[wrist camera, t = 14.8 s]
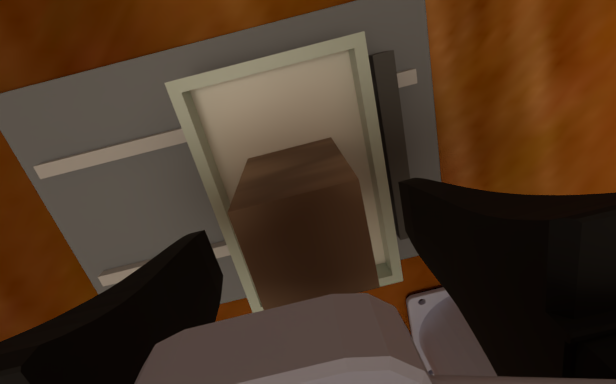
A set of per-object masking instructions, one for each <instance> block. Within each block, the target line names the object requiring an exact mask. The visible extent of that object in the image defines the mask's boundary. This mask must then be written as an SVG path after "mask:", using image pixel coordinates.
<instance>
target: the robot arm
mask: <svg viewBox="0 0 616 384" xmlns="http://www.w3.org/2000/svg"><path fill="white" fill-rule="evenodd" d="M398 184H399V191H400V198H401V205H402V212H403V219H404V226H405V231H406V233H407V235H408V237H409V239H410V241H411V243H412V245H413V246H414V248H415V250H416V252H417V253H418V254H419V256H420V257H421V258H422V260H423V261H424V262H425V264H426V265H427V266H428V268H429V269H430V270H431V272H432V273H433V274H434V276H435V277H436V278H437V279H438V281H439V282H440V283H441V285H442V286H443V287H442V288H438V289H434V290H430V291H426V292H421V293H417V294H413V295H410V296H409V297H408V298H407V299H406V304H407V310H408V317H409V323H410V330H411V335H410V333H409V331H408V329H407V327H406V325H405V323H404V322H403V320H402V318H401V316H400V314H399V313H398V311H397V309H396V307H395V306H393V305H391V304H388V303H386V302H384V301H382V300H380V299H378V298H376V297H374V296H372V295H370V294H368V293H351V294H329V295H325V296H321V297H317V298H313V299H309V300H304V301H300V302H296V303H292V304H288V305H284V306H280V307H276V308H271V309H267V310H263V311H259V312H255V313H251V314H247V315H242V316H238V317H234V318H230V319H226V320H222V321H218V322H215V320H216V316H217V312H218V308H219V305H220V300H221V294H222V285H223V274H222V271H221V269H220V266H219V264H218V261H217V259H216V256H215V254H214V251H213V249H212V246H211V244H210V241H209V239H208V237H207V234H206V232H205V230H202V231H198V232H194V233H190V234H187V235H185V236H183V237H182V238H180V239H179V240H177V241H176V242H174V243H173V244H171V245H170V246H169V247H167V248H166V249H165V250H163V251H162V252H161V253H159V254H158V255H157V256H155V257H154V258H153V259H151V260H150V261H149V262H147V263H146V264H144V265H143V266H142V267H140V268H139V269H137V270H136V271H134V272H133V273H132V274H130V275H129V276H127V277H126V278H124V279H123V280H121V281H120V282H118V283H117V284H115V285H114V286H112V287H111V288H109V289H107V290H106V291H104V292H102V293H100V294H99V295H97V296H95V297H94V298H92V299H90V300H88V301H87V302H85V303H83V304H81V305H79V306H77V307H75V308H73V309H71V310H69V311H67V312H65V313H63V314H61V315H60V316H58V317H56V318H54V319H52V320H49V321H47V322H45V323H43V324H41V325H39V326H36V327H34V328H32V329H30V330H27V331H25V332H23V333H20V334H18V335H16V336H14V337H11V338H9V339H6V340H4V341H1V342H0V384H616V193H605V194H587V195H521V194H509V193H498V192H490V191H483V190H477V189H471V188H466V187H461V186H456V185H452V184H447V183H443V182H438V181H434V180H429V179H424V178H411V179H407V180H403V181H399V182H398ZM420 299H423V300H421V301H419V300H420ZM411 336H412V337H411Z"/></svg>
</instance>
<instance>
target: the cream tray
mask: <svg viewBox="0 0 616 384" xmlns="http://www.w3.org/2000/svg"><path fill="white" fill-rule="evenodd" d="M164 84H165V86H166V89H167V91H168V94H169V97H170V99H171V102H172V104H173V107H174V110H175V112H176V115H177V117H178V120H179V123H180V125H181V128H182V130H183V133H184V135H185V138H186V141H187V143H188V146H189V148H190V151H191V154H192V156H193V159H194V161H195V164H196V167H197V169H198V172H199V174H200V177H201V180H202V182H203V185H204V187H205V190H206V193H207V195H208V198H209V200H210V203H211V205H212V208H213V211H214V213H215V216H216V218H217V221H218V224H219V226H220V229H221V231H222V234H223V237H224V239H225V242H226V244H227V247H228V250H229V252H230V255H231V257H232V260H233V263H234V265H235V268H236V270H237V273H238V275H239V278H240V281H241V283H242V286H243V288H244V291H245V294H246V296H247V299H248V301H249V304H250V307H251V309H252V312H253V313H255V312H259V311H263V310H264V309H263V307H262V304H261V301H260V299H259V296H258V293H257V290H256V288H255V285H254V282H253V280H252V277H251V274H250V272H249V269H248V266H247V264H246V261H245V258H244V256H243V253H242V250H241V248H240V245H239V242H238V240H237V237H236V234H235V232H234V229H233V226H232V224H231V221H230V218H229V216H228V213H227V212H228V210H229V207H230V204H231V202H232V199H233V196H234V194H235V191H236V188H237V186H238V183H239V181H240V178H241V175H242V173H243V170H244V167H245V165H246V162H247V159H248V158H252V157H256V156H260V155H264V154H268V153H272V152H275V151H279V150H283V149H287V148H291V147H295V146H299V145H303V144H307V143H310V142H314V141H318V140H322V139H326V138H330V137H331V138H332V140H333V141H334V143H335V144H336V146H337V147H338V149H339V150H340V152H341V153H342V155H343V156H344V158H345V159H346V161H347V162H348V164H349V165H350V167H351V168H352V170H353V171H354V173H355V174H356V176H357V177H358V179H359V183H360V188H361V193H362V198H363V203H364V208H365V213H366V218H367V223H368V228H369V234H370V239H371V244H372V249H373V254H374V259H375V264H376V269H377V274H378V279H379V285H380V287H381V286H385V285H389V284H393V283H397V282H401V281H403V275H402V269H401V262H400V256H399V250H398V243H397V237H396V230H395V224H394V217H393V211H392V205H391V198H390V192H389V185H388V179H387V173H386V166H385V160H384V153H383V147H382V140H381V134H380V128H379V121H378V115H377V108H376V102H375V96H374V89H373V83H372V76H371V70H370V63H369V57H368V51H367V44H366V38H365V31H363V32H359V33H355V34H351V35H347V36H343V37H340V38H336V39H332V40H328V41H324V42H320V43H316V44H313V45H309V46H305V47H301V48H297V49H293V50H289V51H285V52H282V53H278V54H274V55H270V56H266V57H262V58H258V59H255V60H251V61H247V62H243V63H239V64H235V65H231V66H228V67H224V68H220V69H216V70H212V71H208V72H204V73H201V74H197V75H193V76H189V77H185V78H181V79H177V80H174V81H170V82H166V83H164Z"/></svg>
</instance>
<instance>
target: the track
mask: <svg viewBox="0 0 616 384" xmlns="http://www.w3.org/2000/svg"><path fill="white" fill-rule="evenodd" d="M363 31H365V38H366V44H367V51H368V57H369V63H370V70H371V76H372V83H373V89H374V96H375V102H376V108H377V115H378V121H379V128H380V134H381V140H382V147H383V153H384V160H385V166H386V173H387V179H388V185H389V192H390V198H391V205H392V211H393V217H394V224H395V230H396V237H397V243H398V250H399V256H400V260H402V259H406V258H410V257H414V256H418V255H419V254H418V253H417V252H416V250H415V248H414V246H413V245H412V243H411V241H410V239H409V237H408V235H407V233H406V231H405V226H404V219H403V212H402V205H401V198H400V191H399V184H398V182H399V181H403V180H407V179H411V178H424V179H429V180H434V181H438V182H441V174H440V163H439V152H438V141H437V130H436V119H435V107H434V96H433V85H432V74H431V63H430V52H429V41H428V30H427V19H426V7H425V0H357V1H353V2H349V3H345V4H342V5H338V6H334V7H330V8H326V9H322V10H319V11H315V12H311V13H307V14H303V15H299V16H296V17H292V18H288V19H284V20H280V21H276V22H273V23H269V24H265V25H261V26H257V27H253V28H250V29H246V30H242V31H238V32H234V33H230V34H227V35H223V36H219V37H215V38H211V39H207V40H204V41H200V42H196V43H192V44H188V45H184V46H181V47H177V48H173V49H169V50H165V51H161V52H158V53H154V54H150V55H146V56H142V57H139V58H135V59H131V60H127V61H123V62H119V63H116V64H112V65H108V66H104V67H100V68H96V69H93V70H89V71H85V72H81V73H77V74H73V75H70V76H66V77H62V78H58V79H54V80H50V81H47V82H43V83H39V84H35V85H31V86H27V87H24V88H20V89H16V90H12V91H8V92H4V93H1V94H0V130H1V132H2V134H3V135H4V137H5V139H6V140H7V142H8V144H9V145H10V147H11V149H12V150H13V152H14V154H15V155H16V157H17V159H18V160H19V162H20V164H21V165H22V167H23V169H24V170H25V172H26V174H27V175H28V177H29V179H30V180H31V182H32V184H33V185H34V187H35V189H36V190H37V192H38V194H39V195H40V197H41V199H42V201H43V202H44V204H45V206H46V207H47V209H48V211H49V212H50V214H51V216H52V217H53V219H54V221H55V222H56V224H57V226H58V227H59V229H60V231H61V232H62V234H63V236H64V237H65V239H66V241H67V242H68V244H69V246H70V247H71V249H72V251H73V252H74V254H75V256H76V257H77V259H78V261H79V262H80V264H81V266H82V267H83V269H84V271H85V272H86V274H87V276H88V277H89V279H90V281H91V283H92V284H93V286H94V288H95V289H96V291H97V293H98V294H100V293H102V292H104V291H106V290H107V289H109V288H111V287H112V286H114V285H115V284H117V283H118V282H120V281H121V280H123V279H124V278H126V277H127V276H129V275H130V274H132V273H133V272H134V271H136V270H137V269H139V268H140V267H142V266H143V265H144V264H146V263H147V262H149V261H150V260H151V259H153V258H154V257H155V256H157V255H158V254H159V253H161V252H162V251H163V250H165V249H166V248H167V247H169V246H170V245H171V244H173V243H174V242H176V241H177V240H179V239H180V238H182V237H183V236H185V235H187V234H190V233H194V232H198V231H202V230H205V232H206V234H207V237H208V239H209V241H210V244H211V246H212V249H213V251H214V254H215V256H216V259H217V261H218V264H219V266H220V269H221V271H222V274H223V285H222V294H221V300H220V304H222V303H226V302H230V301H234V300H238V299H242V298H246V297H247V296H246V294H245V291H244V288H243V286H242V283H241V281H240V278H239V275H238V273H237V270H236V268H235V265H234V263H233V260H232V257H231V255H230V252H229V250H228V247H227V244H226V242H225V239H224V237H223V234H222V231H221V229H220V226H219V224H218V221H217V218H216V216H215V213H214V211H213V208H212V205H211V203H210V200H209V198H208V195H207V193H206V190H205V187H204V185H203V182H202V180H201V177H200V174H199V172H198V169H197V167H196V164H195V161H194V159H193V156H192V154H191V151H190V148H189V146H188V143H187V141H186V138H185V135H184V133H183V130H182V128H181V125H180V123H179V120H178V117H177V115H176V112H175V110H174V107H173V104H172V102H171V99H170V97H169V94H168V91H167V89H166V86H165V84H164V83H166V82H170V81H174V80H177V79H181V78H185V77H189V76H193V75H197V74H201V73H204V72H208V71H212V70H216V69H220V68H224V67H228V66H231V65H235V64H239V63H243V62H247V61H251V60H255V59H258V58H262V57H266V56H270V55H274V54H278V53H282V52H285V51H289V50H293V49H297V48H301V47H305V46H309V45H313V44H316V43H320V42H324V41H328V40H332V39H336V38H340V37H343V36H347V35H351V34H355V33H359V32H363Z"/></svg>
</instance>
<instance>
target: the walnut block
mask: <svg viewBox="0 0 616 384" xmlns="http://www.w3.org/2000/svg"><path fill="white" fill-rule="evenodd" d="M227 213H228V216H229V218H230V221H231V224H232V226H233V229H234V232H235V234H236V237H237V240H238V242H239V245H240V248H241V250H242V253H243V256H244V258H245V261H246V264H247V266H248V269H249V272H250V274H251V277H252V280H253V282H254V285H255V288H256V290H257V293H258V296H259V299H260V301H261V304H262V307H263V309H264V310H267V309H271V308H276V307H280V306H284V305H288V304H292V303H296V302H300V301H304V300H309V299H313V298H317V297H321V296H325V295H329V294H351V293H359V292H363V291H367V290H371V289H375V288H379V287H380V285H379V279H378V274H377V269H376V264H375V259H374V254H373V249H372V244H371V239H370V234H369V228H368V223H367V218H366V213H365V208H364V203H363V198H362V193H361V188H360V183H359V179H358V177H357V176H356V174H355V173H354V171H353V170H352V168H351V167H350V165H349V164H348V162H347V161H346V159H345V158H344V156H343V155H342V153H341V152H340V150H339V149H338V147H337V146H336V144H335V143H334V141H333V140H332V138H331V137H330V138H326V139H322V140H318V141H314V142H310V143H307V144H303V145H299V146H295V147H291V148H287V149H283V150H279V151H275V152H272V153H268V154H264V155H260V156H256V157H252V158H248V159H247V162H246V165H245V167H244V170H243V173H242V175H241V178H240V181H239V183H238V186H237V188H236V191H235V194H234V196H233V199H232V202H231V204H230V207H229V210H228V212H227Z"/></svg>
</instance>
